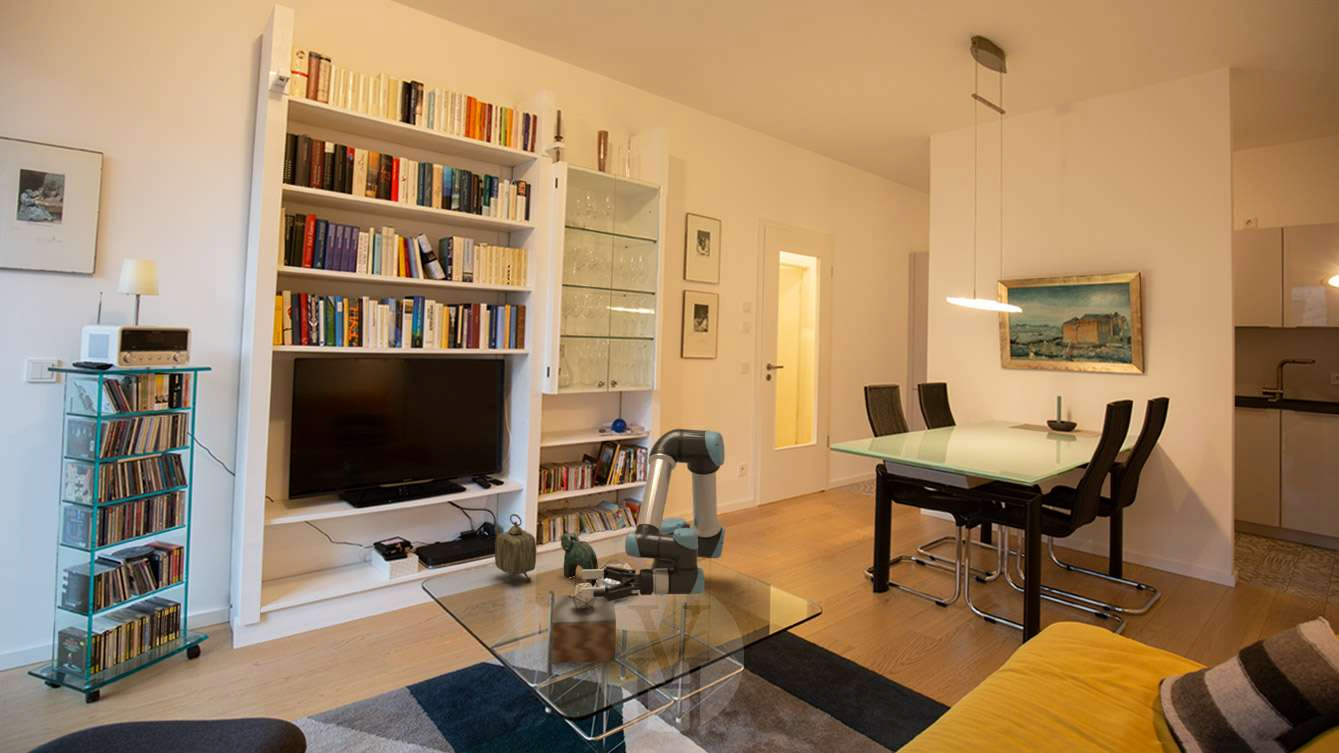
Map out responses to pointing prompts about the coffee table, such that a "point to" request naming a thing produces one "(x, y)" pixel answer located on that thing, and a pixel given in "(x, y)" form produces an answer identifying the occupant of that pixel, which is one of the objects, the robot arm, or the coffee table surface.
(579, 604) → the geometric polyhedron ornament
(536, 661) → the coffee table surface
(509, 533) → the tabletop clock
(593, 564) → the green elephant figurine
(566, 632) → the walnut crate
